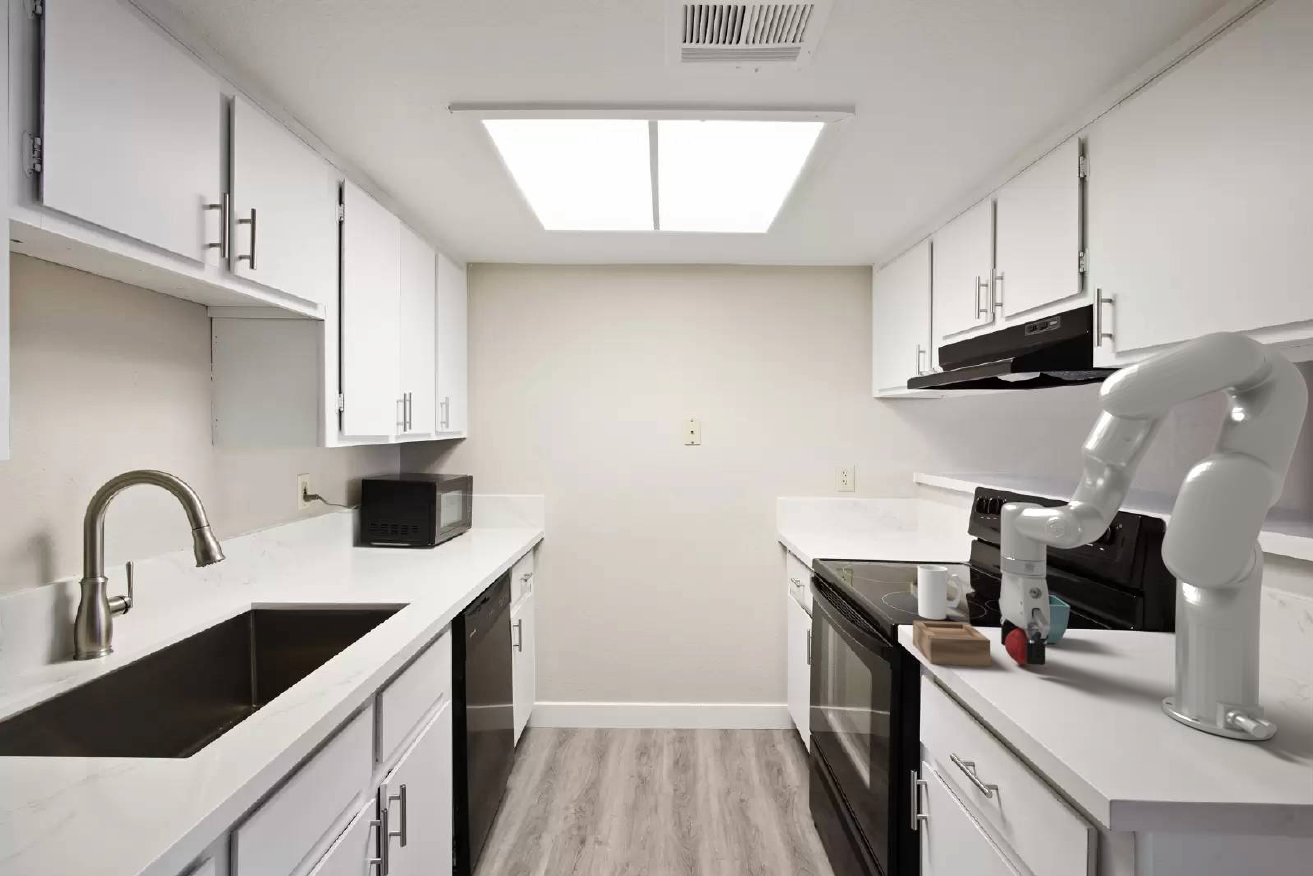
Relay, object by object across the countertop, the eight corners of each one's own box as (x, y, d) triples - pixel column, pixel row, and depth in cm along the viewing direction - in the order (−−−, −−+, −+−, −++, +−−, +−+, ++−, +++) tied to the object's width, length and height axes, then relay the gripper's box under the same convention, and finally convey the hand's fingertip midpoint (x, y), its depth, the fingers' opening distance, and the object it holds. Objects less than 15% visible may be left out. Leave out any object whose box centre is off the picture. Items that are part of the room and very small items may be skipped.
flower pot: (1024, 645, 125) (1024, 603, 125) (1009, 631, 134) (1009, 592, 134) (1070, 648, 123) (1071, 606, 123) (1053, 635, 132) (1053, 595, 132)
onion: (1045, 672, 110) (1045, 630, 110) (1011, 669, 112) (1012, 628, 112) (1032, 661, 116) (1032, 620, 116) (1000, 658, 117) (1000, 618, 117)
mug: (916, 617, 144) (916, 568, 144) (918, 610, 150) (918, 563, 150) (962, 624, 139) (962, 573, 139) (962, 616, 145) (962, 568, 145)
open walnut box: (990, 666, 113) (990, 640, 113) (930, 663, 114) (930, 638, 114) (966, 646, 124) (967, 622, 124) (912, 643, 125) (913, 620, 125)
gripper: (1069, 578, 105) (1068, 673, 105) (1021, 558, 122) (1020, 640, 122) (1024, 576, 106) (1023, 671, 106) (983, 556, 123) (982, 638, 123)
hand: (1022, 654), depth 114 cm, fingers open, 9 cm apart
